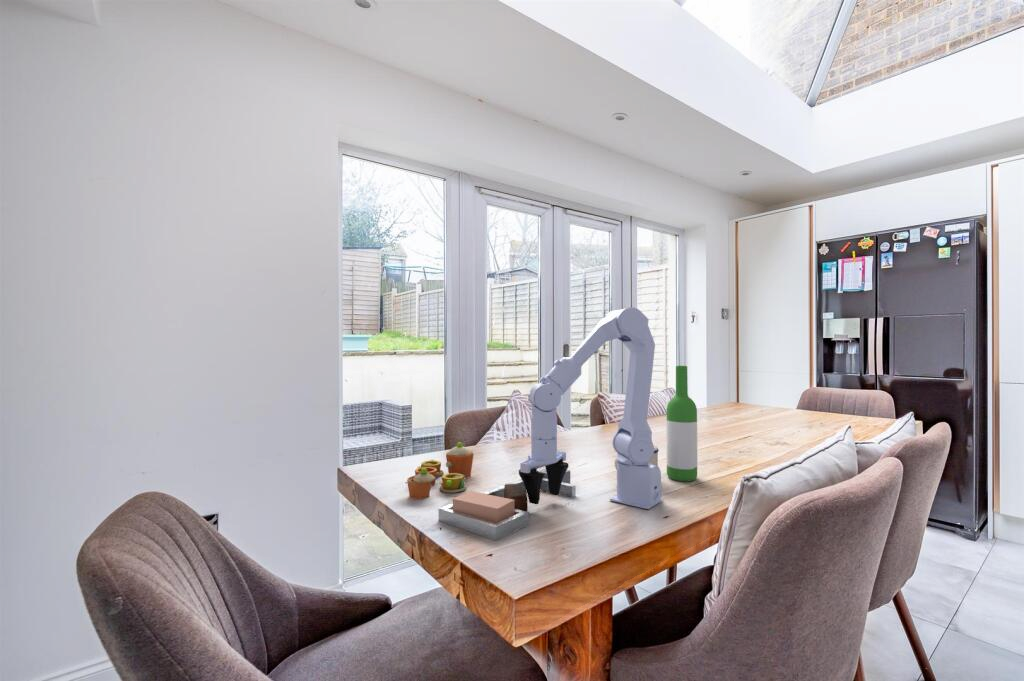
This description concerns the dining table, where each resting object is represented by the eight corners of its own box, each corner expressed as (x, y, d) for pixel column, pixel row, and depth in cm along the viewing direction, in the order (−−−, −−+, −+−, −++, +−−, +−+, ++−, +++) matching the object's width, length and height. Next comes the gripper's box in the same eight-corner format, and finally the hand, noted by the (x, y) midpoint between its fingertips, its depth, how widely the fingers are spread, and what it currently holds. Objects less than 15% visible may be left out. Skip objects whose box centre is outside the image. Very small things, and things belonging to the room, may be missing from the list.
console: (570, 484, 123) (570, 470, 123) (557, 489, 118) (557, 475, 118) (551, 479, 127) (551, 466, 127) (537, 485, 122) (537, 471, 122)
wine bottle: (702, 478, 128) (702, 365, 128) (688, 484, 122) (688, 367, 123) (675, 472, 133) (675, 365, 134) (661, 478, 128) (660, 366, 128)
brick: (528, 518, 99) (528, 495, 100) (509, 519, 99) (509, 496, 99) (520, 501, 110) (520, 481, 110) (503, 502, 109) (503, 482, 110)
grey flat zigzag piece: (585, 498, 112) (585, 487, 112) (495, 540, 88) (495, 526, 88) (532, 485, 122) (532, 475, 122) (438, 520, 98) (438, 508, 98)
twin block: (470, 514, 102) (470, 490, 102) (514, 524, 96) (514, 499, 96) (452, 523, 97) (452, 498, 97) (497, 535, 91) (497, 508, 91)
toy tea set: (420, 471, 136) (420, 437, 136) (475, 472, 136) (475, 438, 136) (398, 502, 110) (398, 460, 110) (465, 502, 110) (465, 460, 110)
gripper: (548, 430, 115) (548, 487, 115) (509, 440, 104) (509, 503, 103) (573, 434, 110) (573, 493, 110) (535, 444, 99) (535, 510, 99)
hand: (544, 498), depth 106 cm, fingers open, 7 cm apart
